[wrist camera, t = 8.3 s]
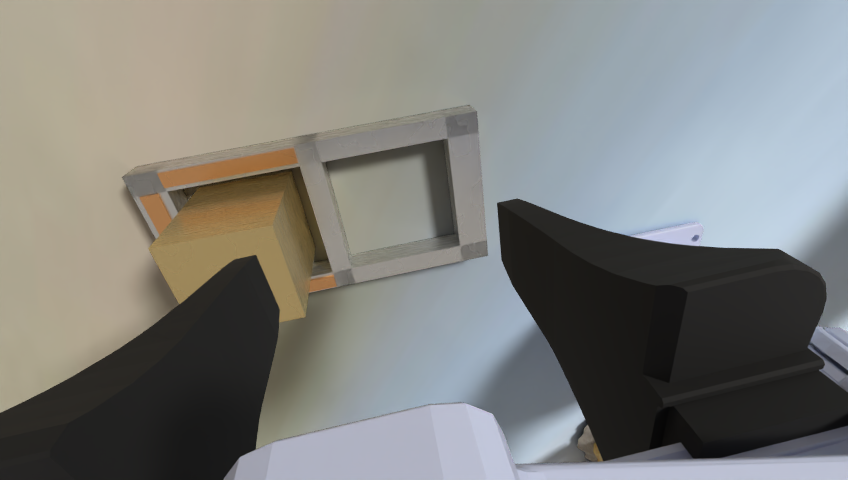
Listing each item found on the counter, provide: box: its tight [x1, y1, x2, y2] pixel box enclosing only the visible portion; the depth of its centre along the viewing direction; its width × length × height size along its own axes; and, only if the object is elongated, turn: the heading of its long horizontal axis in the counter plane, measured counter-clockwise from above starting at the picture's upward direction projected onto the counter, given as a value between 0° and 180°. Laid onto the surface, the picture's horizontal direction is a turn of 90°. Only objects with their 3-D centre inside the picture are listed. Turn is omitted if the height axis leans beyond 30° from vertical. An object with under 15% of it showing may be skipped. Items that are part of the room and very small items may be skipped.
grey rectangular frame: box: [122, 105, 488, 293], centre depth 21 cm, size 8×16×2 cm, turn 98°
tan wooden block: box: [148, 171, 315, 322], centre depth 19 cm, size 4×4×6 cm
